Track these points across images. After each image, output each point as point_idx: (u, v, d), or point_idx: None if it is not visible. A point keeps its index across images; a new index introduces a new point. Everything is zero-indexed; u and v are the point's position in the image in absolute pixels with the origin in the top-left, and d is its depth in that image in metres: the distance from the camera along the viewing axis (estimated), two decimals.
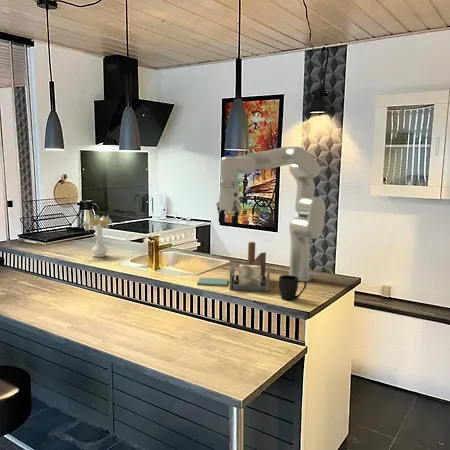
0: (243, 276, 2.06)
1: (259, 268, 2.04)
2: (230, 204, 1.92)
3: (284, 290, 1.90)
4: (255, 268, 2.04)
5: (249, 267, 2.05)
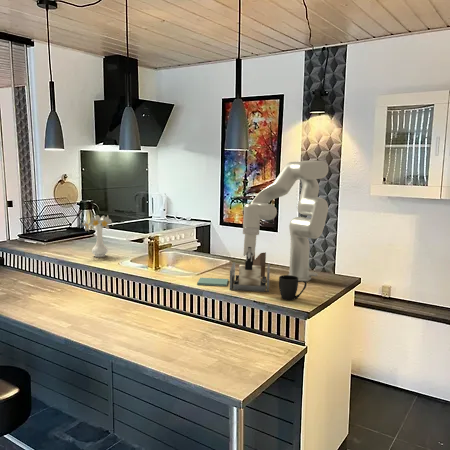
0: (243, 276, 2.06)
1: (259, 268, 2.04)
2: None
3: (284, 290, 1.90)
4: (255, 268, 2.04)
5: None
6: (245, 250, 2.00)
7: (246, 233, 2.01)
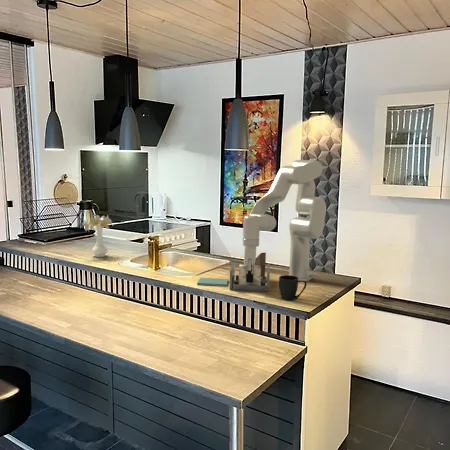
0: (243, 275, 2.06)
1: (259, 268, 2.04)
2: None
3: (284, 290, 1.90)
4: (255, 268, 2.04)
5: None
6: (245, 262, 2.01)
7: (246, 245, 2.01)
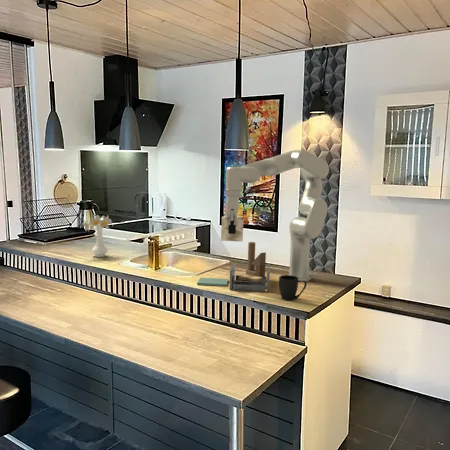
0: (226, 227, 2.07)
1: (241, 219, 2.06)
2: None
3: (284, 290, 1.90)
4: (237, 219, 2.06)
5: None
6: (228, 212, 2.02)
7: (228, 195, 2.03)
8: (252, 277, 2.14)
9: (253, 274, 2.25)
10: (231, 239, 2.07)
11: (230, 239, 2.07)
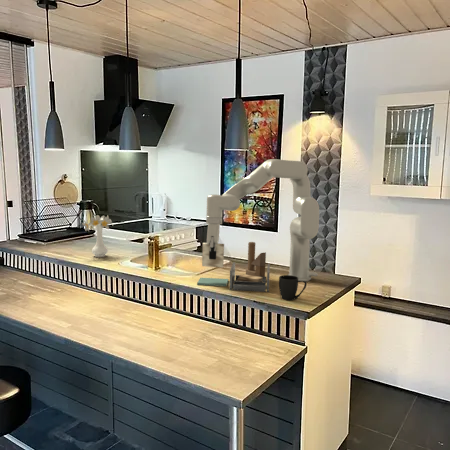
0: (207, 253, 2.13)
1: (222, 246, 2.12)
2: None
3: (284, 290, 1.90)
4: (218, 246, 2.12)
5: None
6: (208, 239, 2.08)
7: (209, 223, 2.09)
8: (252, 277, 2.14)
9: (253, 274, 2.25)
10: (212, 265, 2.13)
11: (211, 265, 2.13)
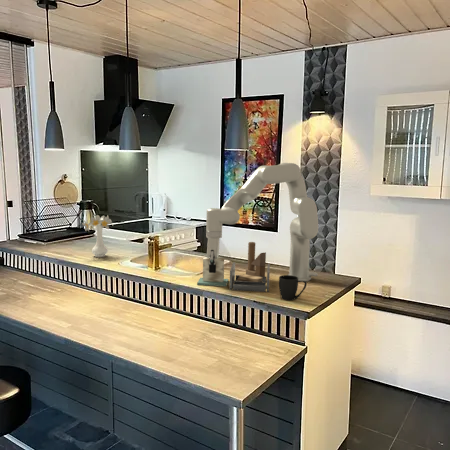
0: (207, 268, 2.14)
1: (222, 261, 2.13)
2: None
3: (284, 290, 1.90)
4: (218, 261, 2.13)
5: None
6: (208, 253, 2.09)
7: (209, 236, 2.10)
8: (252, 277, 2.14)
9: (253, 274, 2.25)
10: (212, 280, 2.15)
11: (211, 280, 2.15)
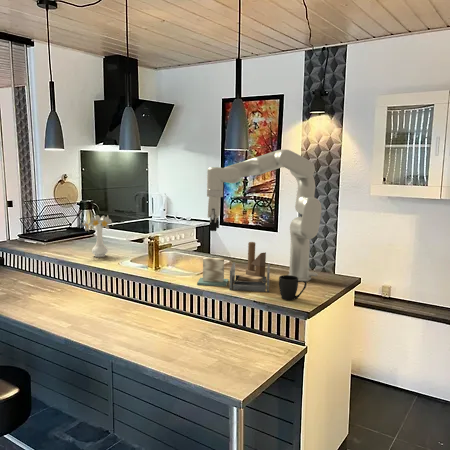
0: (207, 268, 2.14)
1: (222, 261, 2.13)
2: None
3: (284, 290, 1.90)
4: (218, 261, 2.13)
5: (212, 260, 2.13)
6: (209, 212, 2.06)
7: (210, 195, 2.07)
8: (252, 277, 2.14)
9: (253, 274, 2.25)
10: (212, 280, 2.15)
11: (211, 280, 2.15)
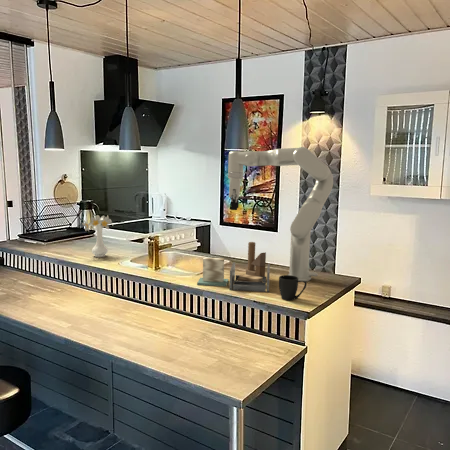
0: (207, 268, 2.14)
1: (222, 261, 2.13)
2: None
3: (284, 290, 1.90)
4: (218, 261, 2.13)
5: (212, 260, 2.13)
6: (230, 192, 2.24)
7: (231, 177, 2.25)
8: (252, 277, 2.14)
9: (253, 274, 2.25)
10: (212, 280, 2.15)
11: (211, 280, 2.15)
